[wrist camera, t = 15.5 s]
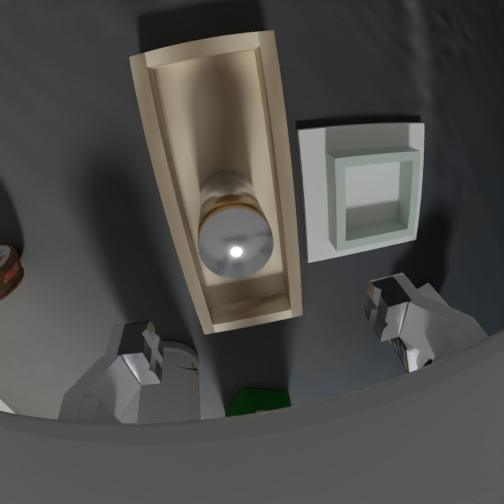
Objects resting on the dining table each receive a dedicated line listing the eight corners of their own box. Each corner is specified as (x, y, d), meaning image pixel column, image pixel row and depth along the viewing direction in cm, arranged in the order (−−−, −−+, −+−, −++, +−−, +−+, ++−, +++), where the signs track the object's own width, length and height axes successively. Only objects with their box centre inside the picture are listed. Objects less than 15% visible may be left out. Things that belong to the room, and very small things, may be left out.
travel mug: (200, 339, 32) (213, 525, 15) (196, 375, 35) (207, 532, 18) (143, 334, 30) (127, 519, 13) (146, 371, 34) (138, 528, 17)
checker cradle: (420, 122, 22) (437, 127, 20) (412, 236, 29) (426, 249, 27) (296, 129, 22) (306, 134, 20) (306, 259, 28) (314, 275, 26)
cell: (249, 164, 22) (270, 204, 15) (256, 214, 24) (278, 271, 17) (194, 175, 22) (189, 220, 15) (205, 224, 24) (206, 285, 17)
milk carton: (296, 388, 39) (333, 517, 22) (268, 418, 43) (293, 531, 26) (239, 381, 37) (263, 529, 20) (216, 413, 40) (230, 537, 23)
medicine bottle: (380, 309, 33) (428, 386, 23) (428, 280, 33) (483, 348, 22) (388, 340, 37) (427, 409, 27) (430, 314, 36) (475, 377, 26)
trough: (263, 38, 18) (273, 30, 15) (293, 291, 30) (302, 315, 27) (140, 61, 18) (129, 57, 15) (203, 309, 30) (204, 334, 27)
